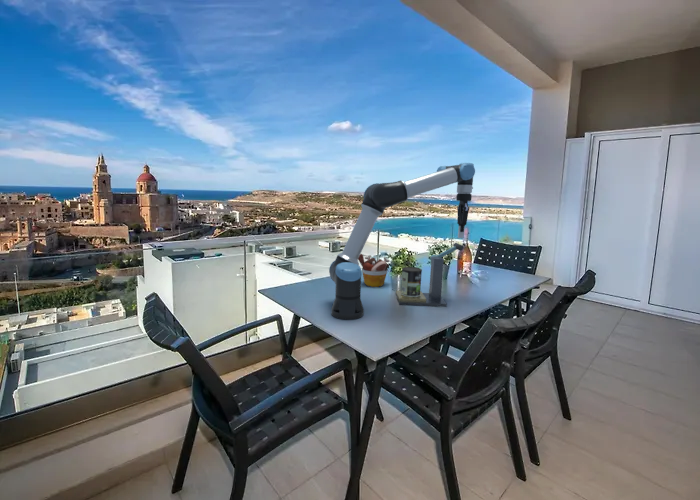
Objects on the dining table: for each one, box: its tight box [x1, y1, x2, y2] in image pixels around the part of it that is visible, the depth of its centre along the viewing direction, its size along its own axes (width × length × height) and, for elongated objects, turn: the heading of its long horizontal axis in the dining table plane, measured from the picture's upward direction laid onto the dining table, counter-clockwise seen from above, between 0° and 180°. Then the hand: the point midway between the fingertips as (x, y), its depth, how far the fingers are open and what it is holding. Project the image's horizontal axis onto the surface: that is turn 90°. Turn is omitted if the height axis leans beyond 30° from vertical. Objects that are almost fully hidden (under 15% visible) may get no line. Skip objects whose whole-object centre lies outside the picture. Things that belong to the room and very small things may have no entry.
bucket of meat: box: [358, 253, 390, 288], centre depth 199 cm, size 20×16×20 cm
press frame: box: [395, 257, 448, 308], centre depth 171 cm, size 24×18×24 cm
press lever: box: [430, 242, 464, 259], centre depth 174 cm, size 18×8×4 cm, turn 87°
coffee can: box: [400, 266, 423, 297], centre depth 171 cm, size 10×10×14 cm
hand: (460, 237), depth 173 cm, fingers closed
